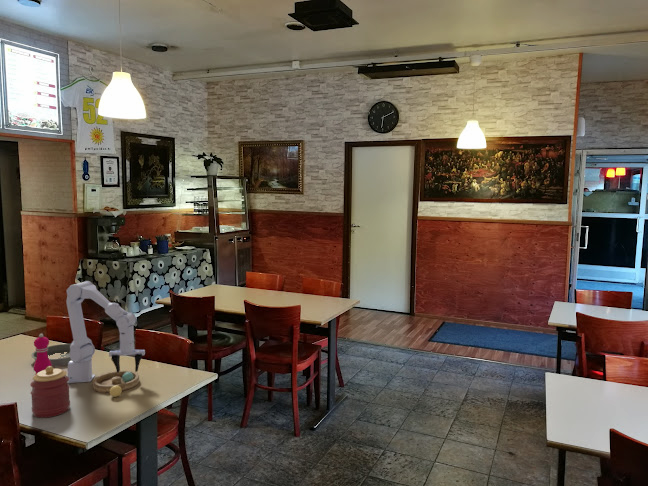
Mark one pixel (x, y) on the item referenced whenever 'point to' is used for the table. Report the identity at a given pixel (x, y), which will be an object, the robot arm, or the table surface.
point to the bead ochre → (115, 391)
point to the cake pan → (57, 349)
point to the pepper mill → (41, 354)
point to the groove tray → (114, 381)
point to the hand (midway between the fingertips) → (127, 371)
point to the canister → (50, 392)
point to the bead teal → (127, 377)
